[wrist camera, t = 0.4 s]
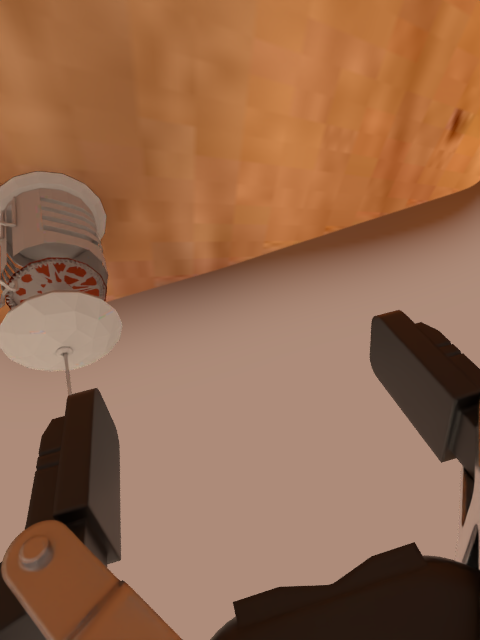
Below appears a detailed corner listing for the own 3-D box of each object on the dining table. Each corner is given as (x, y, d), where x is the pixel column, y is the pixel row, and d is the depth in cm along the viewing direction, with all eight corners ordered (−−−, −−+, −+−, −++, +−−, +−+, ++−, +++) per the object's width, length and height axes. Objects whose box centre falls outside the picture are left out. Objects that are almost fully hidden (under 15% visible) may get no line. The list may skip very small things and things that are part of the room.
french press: (64, 279, 44) (97, 529, 29) (-62, 219, 35) (-110, 529, 20) (128, 214, 41) (203, 453, 26) (8, 131, 32) (14, 416, 17)
